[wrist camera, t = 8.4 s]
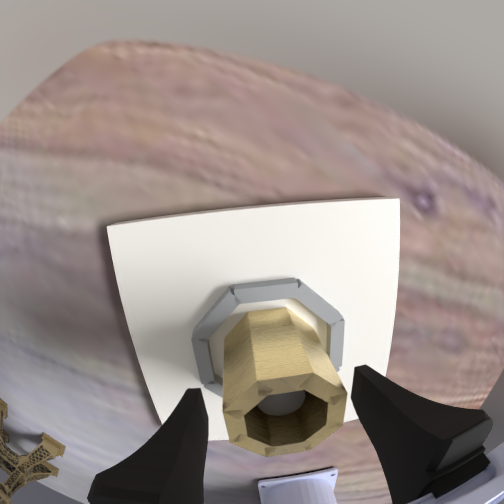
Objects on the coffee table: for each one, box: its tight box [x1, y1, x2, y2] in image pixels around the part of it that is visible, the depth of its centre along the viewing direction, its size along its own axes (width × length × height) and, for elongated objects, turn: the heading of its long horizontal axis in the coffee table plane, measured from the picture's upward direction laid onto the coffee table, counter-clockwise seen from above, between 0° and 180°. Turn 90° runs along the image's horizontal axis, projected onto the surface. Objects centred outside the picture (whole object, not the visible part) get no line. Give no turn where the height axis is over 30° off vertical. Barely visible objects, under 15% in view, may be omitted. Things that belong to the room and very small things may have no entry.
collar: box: [222, 307, 348, 457], centre depth 13 cm, size 5×5×6 cm
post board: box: [107, 197, 400, 440], centre depth 15 cm, size 16×16×6 cm
